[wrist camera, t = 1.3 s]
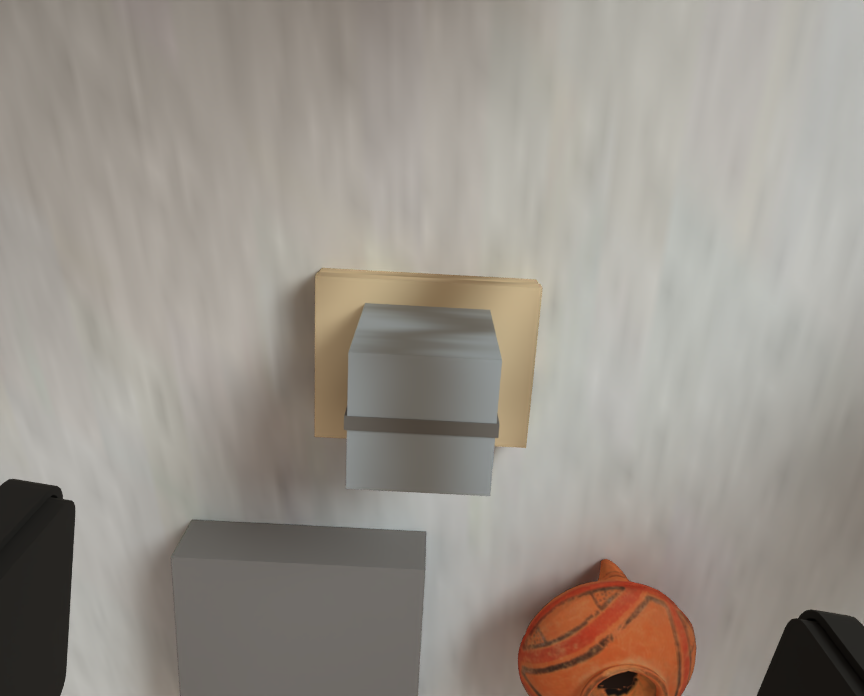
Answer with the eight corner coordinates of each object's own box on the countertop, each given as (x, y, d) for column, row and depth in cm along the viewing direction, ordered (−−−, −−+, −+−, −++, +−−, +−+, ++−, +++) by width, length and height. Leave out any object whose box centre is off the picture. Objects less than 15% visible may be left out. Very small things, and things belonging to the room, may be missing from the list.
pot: (507, 538, 36) (565, 631, 29) (657, 531, 38) (740, 617, 31) (488, 679, 38) (537, 794, 32) (629, 666, 40) (702, 771, 34)
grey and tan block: (536, 277, 32) (567, 334, 24) (521, 428, 34) (545, 524, 27) (322, 265, 32) (286, 320, 24) (321, 418, 34) (287, 511, 27)
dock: (426, 531, 36) (425, 569, 33) (415, 709, 39) (414, 758, 36) (192, 519, 36) (171, 557, 33) (202, 699, 39) (183, 747, 36)
